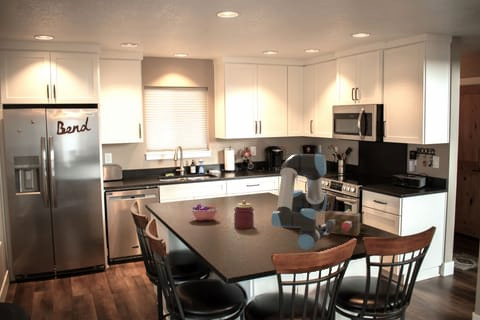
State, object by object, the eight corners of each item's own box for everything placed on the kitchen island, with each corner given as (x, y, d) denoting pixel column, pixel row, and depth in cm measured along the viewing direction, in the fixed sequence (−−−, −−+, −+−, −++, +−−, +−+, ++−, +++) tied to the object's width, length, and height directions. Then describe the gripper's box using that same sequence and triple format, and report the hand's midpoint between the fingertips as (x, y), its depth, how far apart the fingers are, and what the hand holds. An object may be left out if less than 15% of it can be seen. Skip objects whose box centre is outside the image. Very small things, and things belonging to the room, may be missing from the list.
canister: (236, 230, 273) (236, 202, 272) (231, 225, 286) (231, 199, 284) (256, 229, 277) (256, 201, 275) (250, 224, 289) (250, 198, 288)
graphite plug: (324, 229, 259) (324, 220, 258) (329, 224, 270) (329, 216, 270) (333, 230, 256) (333, 221, 256) (338, 225, 268) (338, 217, 267)
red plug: (341, 231, 254) (341, 222, 254) (345, 226, 266) (346, 217, 265) (350, 232, 252) (350, 223, 252) (354, 227, 263) (354, 218, 263)
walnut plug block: (324, 232, 269) (324, 213, 268) (327, 229, 276) (328, 210, 275) (357, 235, 260) (357, 216, 259) (359, 232, 267) (360, 213, 266)
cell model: (215, 223, 291) (215, 207, 290) (186, 222, 295) (186, 205, 294) (221, 218, 307) (221, 202, 306) (194, 217, 311) (194, 201, 310)
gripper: (301, 241, 231) (313, 231, 252) (325, 244, 225) (336, 233, 247) (301, 227, 230) (314, 218, 252) (325, 229, 225) (336, 220, 246)
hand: (325, 226), depth 249 cm, fingers closed
